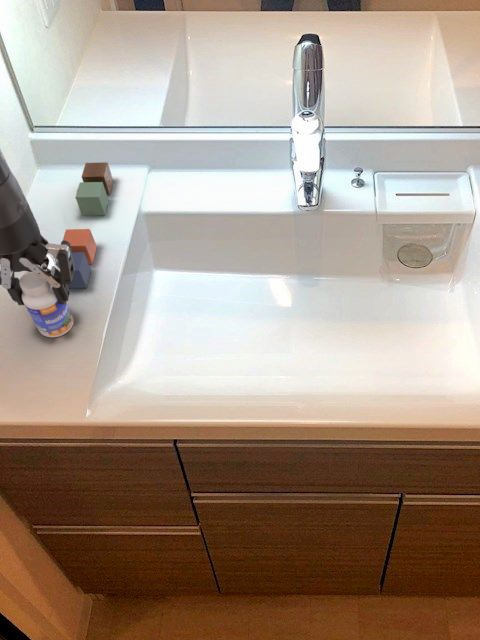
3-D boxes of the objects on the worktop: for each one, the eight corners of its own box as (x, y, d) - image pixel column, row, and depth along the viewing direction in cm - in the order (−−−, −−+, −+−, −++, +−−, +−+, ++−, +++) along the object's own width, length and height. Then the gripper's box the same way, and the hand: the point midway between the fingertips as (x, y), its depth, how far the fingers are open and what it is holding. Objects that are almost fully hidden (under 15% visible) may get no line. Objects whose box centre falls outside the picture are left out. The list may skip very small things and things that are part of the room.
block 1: (88, 195, 114) (81, 176, 111) (92, 181, 116) (85, 162, 113) (110, 195, 114) (104, 176, 111) (113, 181, 116) (107, 162, 113)
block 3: (68, 264, 104) (60, 246, 101) (73, 247, 107) (65, 229, 103) (92, 264, 104) (85, 245, 101) (97, 247, 107) (90, 228, 103)
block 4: (62, 288, 101) (53, 270, 98) (67, 270, 104) (58, 252, 100) (86, 288, 101) (79, 270, 98) (91, 270, 104) (83, 252, 100)
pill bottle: (56, 343, 95) (33, 299, 87) (31, 329, 97) (5, 284, 89) (81, 320, 98) (61, 274, 89) (56, 306, 99) (33, 261, 91)
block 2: (82, 216, 111) (75, 197, 108) (86, 201, 113) (79, 182, 110) (105, 215, 111) (98, 196, 108) (108, 200, 113) (102, 181, 110)
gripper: (59, 186, 81) (97, 281, 95) (-53, 189, 81) (1, 282, 95) (46, 226, 76) (88, 319, 90) (-72, 228, 77) (-12, 321, 91)
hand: (43, 300), depth 93 cm, fingers closed on pill bottle, 5 cm apart
